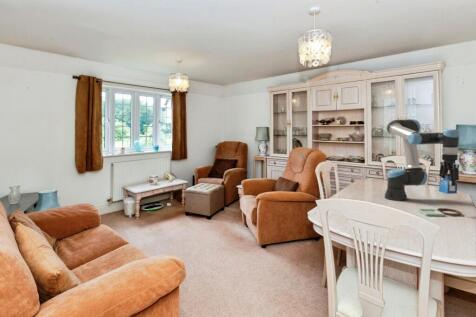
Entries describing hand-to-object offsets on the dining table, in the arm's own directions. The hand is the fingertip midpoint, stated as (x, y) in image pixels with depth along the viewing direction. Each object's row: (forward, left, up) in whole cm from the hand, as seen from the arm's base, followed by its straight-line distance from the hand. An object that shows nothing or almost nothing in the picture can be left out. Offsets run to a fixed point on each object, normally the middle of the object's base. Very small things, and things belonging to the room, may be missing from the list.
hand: (447, 189), depth 158 cm
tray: (+2, -10, -16) cm, 19 cm away
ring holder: (0, +1, -16) cm, 16 cm away
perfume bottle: (0, 0, -2) cm, 2 cm away
